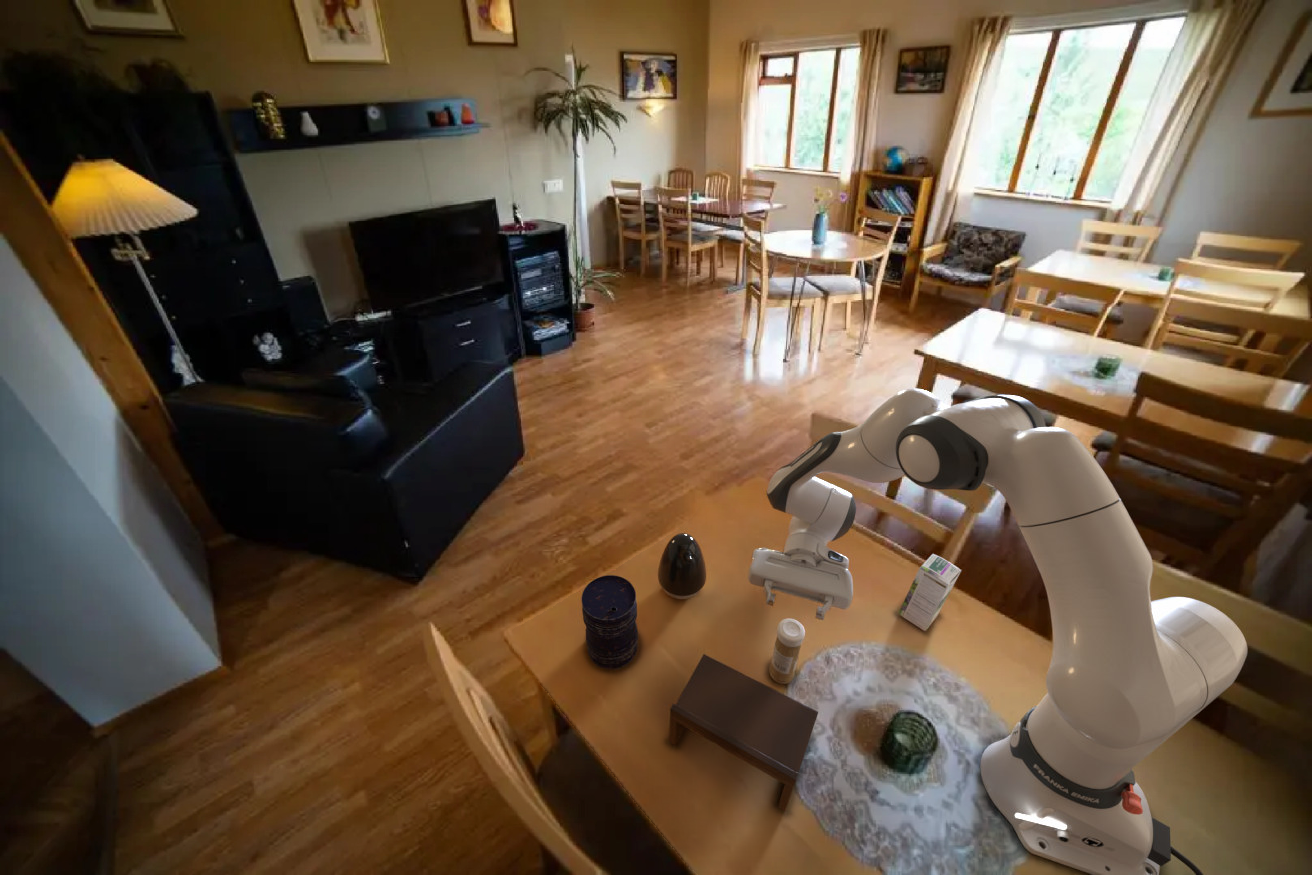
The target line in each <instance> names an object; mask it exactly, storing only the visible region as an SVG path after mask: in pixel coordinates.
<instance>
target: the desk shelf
mask: <svg viewBox="0 0 1312 875" xmlns="http://www.w3.org/2000/svg"><path fill="white" fill-rule="evenodd" d="M818 716H819V710H816V709H814V708H812V707H810V706H808V705H807V704H804V703H802V702H800V701H799V700H796V699H794V698H792V697H790V696H788V695H786V694H784V693H783V692H780V691H778V690H777V689H774V688H773V687H770V686H768V685H766V684H765V683H763V682H761V681H759V680H757V679H755V678H753V677H751V676H749V675H747V674H744V673H743V672H740V671H739V670H737V669H735V668H733V667H731V666H729V665H727V664H725V663H724V662H721V661H720V660H717V659H715V658H713V657H711V656H710V655H707V654H705V653H703V654H702V656H701V658H700V660H699V661H698V663H697V664H696V667H695V669H694V670H693V672H692V674H691V675H690V677H689V679H688V681H687V683H686V685H685V687H684V688H683V690H682V692H681V694H680V695H679V697H678V699H677V701H676V703H672V705H671V706H670V709H669V743H671V744H673V745H674V746H677V744H678V742H679V740H680V738H681V736H682V734H683V733H684V730H685V729H686V728H687V729H689V730H690V731H692V732H694V733H695V734H697V735H699V736H701V737H702V738H704V739H705V740H708V741H709V742H711V743H713V744H715V745H716V746H717V747H720V748H722V749H723V750H725V751H727V752H728V753H730V754H733V756H735V757H737V758H739V759H740V760H742V761H744V762H745V763H748V764H750V765H751V766H753V767H755V768H756V769H757V770H759V771H762V772H763V773H765V774H766V775H769V776H770V777H771V778H774V779H775V780H777V781H779V782H781V783H782V784H784V786H783V789H782V792H781V796H780V798H779V801H778V805H777V808H779V809H781V810H782V811H784V812H786V811H787V808H788V806H789V802H790V799H791V796H792V794H793V790H794V787H795V785H796V782H797V779H798V776H799V773H800V770H801V767H802V764H803V760H804V757H805V754H806V752H807V748H808V745H809V743H810V739H811V736H812V733H813V730H814V727H815V724H816V722H817V718H818Z"/></svg>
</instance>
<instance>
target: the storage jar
mask: <svg viewBox="0 0 1312 875" xmlns="http://www.w3.org/2000/svg"><path fill="white" fill-rule="evenodd" d="M635 589H636V588H635V587H634V585H633V584H632V583H631V581H630V580H628V579H626V578H624V577H623V576H620V575H614V574H609V575H608V574H607V575H601V576H599V577H596V578H594V579H593V580H591V581H590V582H588V584H586V586H585V587H584V589H583V591H582V594H581V612H582V618H583V623H584V625H585V643H586V647H587V653H588V656H589V658H590V660H591V661H592V663H594V664H595V665H596V666H597V667H599V668H601V669H605V670H618V669H621V668H623V667H625V666H627V665H628V664H630V663H631V662H632V661H633V660H634V658H635V656H636V655H637V652H638V646H639V645H638V644H639V643H638V641H639V632H638V625H637V618H638V603H637V594H636V590H635Z"/></svg>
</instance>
